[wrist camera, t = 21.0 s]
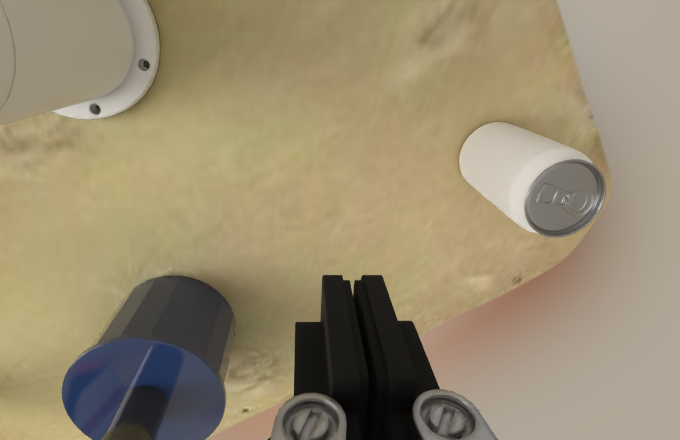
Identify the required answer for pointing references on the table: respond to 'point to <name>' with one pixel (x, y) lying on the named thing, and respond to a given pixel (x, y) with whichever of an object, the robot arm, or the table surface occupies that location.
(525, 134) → the can
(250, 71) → the table surface
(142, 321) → the cup
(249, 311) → the table surface
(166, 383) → the lid
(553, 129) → the table surface
